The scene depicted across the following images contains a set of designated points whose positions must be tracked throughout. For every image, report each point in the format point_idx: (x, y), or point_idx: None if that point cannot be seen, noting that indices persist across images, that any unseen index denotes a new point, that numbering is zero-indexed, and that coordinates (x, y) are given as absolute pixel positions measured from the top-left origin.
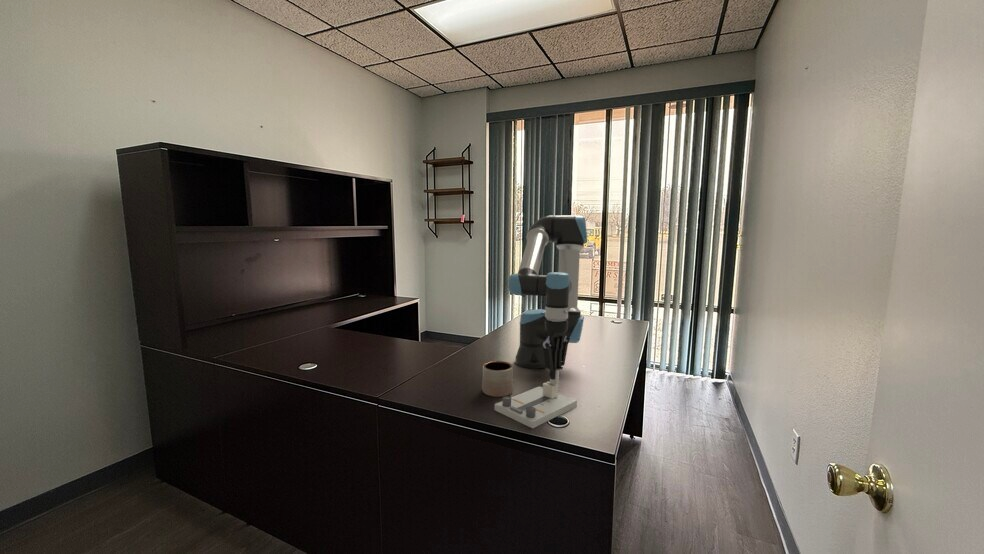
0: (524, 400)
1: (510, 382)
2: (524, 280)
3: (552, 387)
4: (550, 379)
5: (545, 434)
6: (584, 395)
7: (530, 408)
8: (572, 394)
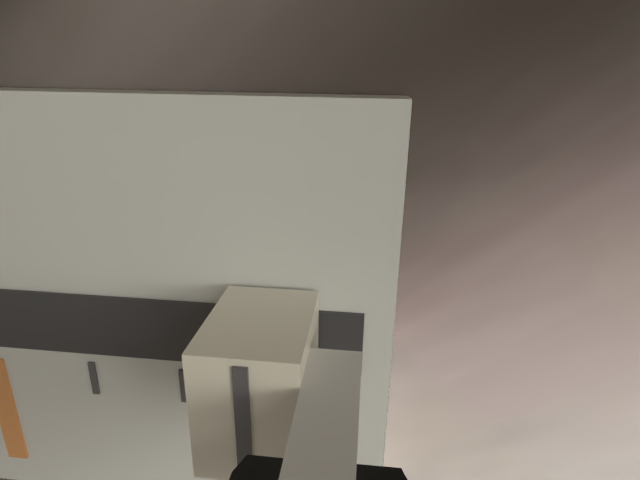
0: (16, 230)
1: None
2: None
3: (199, 472)
4: (293, 419)
5: None
6: (626, 438)
7: None
8: (578, 362)
